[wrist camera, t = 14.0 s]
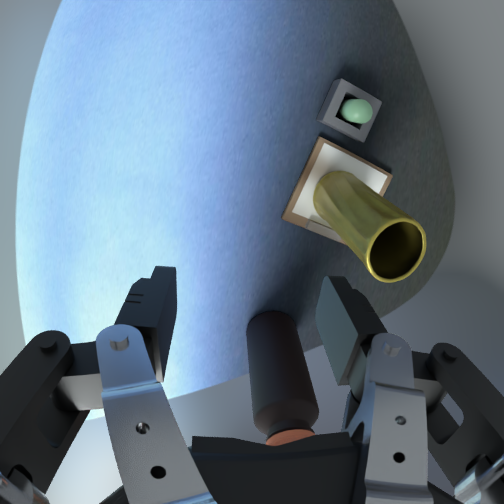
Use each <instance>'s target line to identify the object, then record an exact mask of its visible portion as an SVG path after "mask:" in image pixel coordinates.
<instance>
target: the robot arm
mask: <svg viewBox="0 0 504 504" xmlns="http://www.w3.org/2000/svg"><path fill="white" fill-rule="evenodd" d="M176 314H177V284H176V268H175V267H166V266H155V268H154V271H153V273H152V276H151V278H150V279H149V278H141V279H139V280H138V281H137V282H135V283H134V284H133V285H132V287H131V289H130V291H129V293H128V295H127V297H126V299H125V302H124V304H123V306H122V308H121V310H120V312H119V315H118V317H117V319H116V321H115V324H114V325H112V326H109V327H107V328H105V329H103V330H102V331H101V332H100V333H99V334H98V336H97V338H96V341H93V342H87V343H77V344H71V343H70V340H69V338H68V336H67V335H66V334H64V333H63V332H60V331H55V330H50V331H45V332H42V333H40V334H38V335H36V336H35V337H34V338H33V339H32V340H31V341H30V342H29V343H28V344H27V345H26V346H25V348H24V349H23V350H22V351H21V352H20V353H19V354H18V356H17V357H16V358H15V359H14V360H13V361H12V362H11V364H10V365H9V366H8V367H7V368H6V369H5V371H4V372H3V373H2V374H1V375H0V504H50V503H49V500H48V499H47V497H46V496H45V494H46V491H47V490H48V488H49V486H50V484H51V482H52V480H53V478H54V476H55V474H56V472H57V470H58V468H59V466H60V465H61V463H62V461H63V459H64V457H65V455H66V453H67V451H68V450H69V448H70V446H71V444H72V442H73V440H74V439H75V437H76V435H77V433H78V431H79V430H80V428H81V426H82V424H83V423H84V421H85V419H86V417H87V416H88V414H89V412H90V410H91V409H101V408H104V412H105V417H106V421H107V426H108V430H109V435H110V439H111V443H112V447H113V451H114V455H115V459H116V462H117V466H118V469H119V473H120V476H121V479H122V483H123V485H122V486H121V487H119V488H118V489H117V490H116V491H115V492H113V493H112V494H111V495H110V496H108V497H107V498H106V499H104V500H103V501H102V502H101V503H99V504H504V397H503V396H502V394H500V392H499V391H498V390H497V389H496V388H495V387H494V386H493V385H492V384H491V382H490V381H489V380H488V379H487V378H486V377H485V376H484V375H483V374H482V372H481V371H480V370H479V369H478V368H477V367H476V366H475V365H474V364H473V363H472V362H471V361H470V360H469V359H468V358H467V357H466V355H465V354H463V352H461V350H460V349H458V348H457V347H455V346H453V345H451V344H448V343H437V344H436V345H434V347H433V349H432V350H431V352H430V354H428V353H421V352H415V351H411V347H410V345H409V344H408V342H406V341H405V340H404V339H403V338H401V337H400V336H398V335H395V334H392V333H388V332H387V330H386V329H385V327H384V325H383V324H382V322H381V321H380V319H379V317H378V316H377V314H376V313H375V311H374V309H373V308H372V306H371V304H370V303H369V301H368V300H367V298H366V297H365V296H364V295H363V294H362V293H360V292H359V291H358V290H356V289H352V287H351V286H350V284H349V283H348V281H347V279H346V278H345V277H344V276H325V277H324V279H323V282H322V286H321V291H320V295H319V299H318V303H317V307H316V312H315V321H316V326H317V328H318V331H319V334H320V337H321V339H322V342H323V345H324V348H325V350H326V353H327V356H328V359H329V362H330V364H331V367H332V370H333V373H334V376H335V378H336V382H337V384H338V385H350V387H351V390H350V392H349V394H348V397H347V402H346V408H345V413H344V418H343V424H342V429H341V432H339V433H331V434H320V435H312V436H309V437H306V438H303V439H299V440H296V441H292V442H289V443H285V444H282V445H278V446H271V445H265V444H260V443H255V442H250V441H245V440H240V439H236V438H221V437H200V436H192V446H191V447H187V445H186V443H185V441H184V438H183V436H182V434H181V432H180V429H179V427H178V425H177V422H176V420H175V417H174V415H173V412H172V410H171V408H170V405H169V403H168V400H167V397H166V395H165V392H164V390H163V387H162V385H161V383H160V382H163V381H164V376H165V370H166V365H167V360H168V355H169V350H170V345H171V340H172V335H173V330H174V325H175V321H176ZM447 393H448V394H449V395H450V396H451V398H452V399H453V400H454V401H455V402H456V404H457V405H458V406H459V407H460V409H461V410H462V411H463V415H464V420H463V423H462V425H461V426H460V427H459V425H458V424H457V423H456V421H455V420H454V419H453V417H452V416H451V415H450V414H449V412H448V411H447V410H446V409H445V407H444V406H443V405H442V404H441V401H442V400H443V399H444V397H445V396H446V394H447ZM428 450H429V451H430V453H431V454H432V456H433V457H434V458H435V460H436V462H437V463H438V465H439V466H440V468H441V469H442V471H443V472H444V474H445V475H446V477H447V478H448V480H449V481H450V482H451V484H452V486H453V487H454V489H455V495H454V496H453V497H452V496H451V495H449V494H447V493H446V492H444V491H442V490H441V489H439V488H438V487H436V486H435V485H433V484H431V483H430V482H428V481H427V472H428Z"/></svg>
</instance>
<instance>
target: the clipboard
mask: <svg viewBox="0 0 504 504" xmlns="http://www.w3.org/2000/svg"><path fill="white" fill-rule="evenodd" d="M334 171H346V172H349V173H352V174H353V175H355V176H356V177H357V178H358V179H359V180H361V181H362V182H363V183H365V184H366V185H367V186H369V187H370V188H371V189H373V190H374V191H375V192H377V193H378V194H379V195H381V196H382V197H383V195H384V193H385V191H386V189H387V187H388V185H389V183H390V181H391V179H392V177H393V175H391V174H390V173H388V172H386V171H384V170H383V169H381V168H379V167H377V166H375V165H374V164H372V163H370V162H368V161H366V160H365V159H363V158H361V157H359V156H357V155H355V154H353V153H351V152H349V151H348V150H346V149H344V148H342V147H340V146H338V145H336V144H334V143H332V142H330V141H328V140H326V139H324V138H322V137H319V136H318V138H317V141H316V143H315V145H314V147H313V149H312V151H311V154H310V156H309V158H308V160H307V162H306V165H305V167H304V169H303V171H302V173H301V175H300V178H299V180H298V182H297V184H296V186H295V188H294V191H293V193H292V195H291V197H290V199H289V201H288V203H287V206H286V208H285V210H284V212H283V214H282V216H281V218H282V219H283V220H285V221H288V222H290V223H293V224H296V225H298V226H301V227H303V228H306V229H308V230H310V231H313V232H315V233H318V234H320V235H323V236H325V237H328V238H330V239H333V240H335V241H338V242H340V243H343V244H345V245H347V244H346V243H345V242H344V241H343V240H342V238H341V237H340V236H339V235H338V234H337V233H336V232H335V231H334V230H333V229H332V228H331V226H330V225H329V224H328V223H327V221H325V220H323V219H322V218H321V217H320V216H319V215H318V214H317V212H316V210H315V208H314V204H313V194H314V190H315V187H316V185H317V184H318V183H319V181H320V180H321V179H322V178H323V177H324V176H326V175H327V174H329V173H331V172H334Z"/></svg>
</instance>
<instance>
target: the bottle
mask: <svg viewBox="0 0 504 504" xmlns="http://www.w3.org/2000/svg"><path fill="white" fill-rule="evenodd" d="M246 336H247V348H248V360H249V372H250V384H251V395H252V407H253V418H254V424H255V426H256V427H257V428H258V430H259V431H261V432H262V433H264V434H266V435H267V439H266V445H271V446H278V445H282V444H285V443H289V442H292V441H296V440H299V439H303V438H306V437H309V436H312V435H315V433H314V431H313V430H312V429H311V427H312V426H313V424H314V423H315V422H316V420H317V419H318V415H319V408H318V404H317V400H316V397H315V393H314V389H313V386H312V382H311V379H310V375H309V371H308V367H307V364H306V360H305V357H304V353H303V350H302V346H301V342H300V339H299V335H298V332H297V328H296V325H295V323H294V321H293V319H291V318H290V317H289V316H288V315H287V314H284V313H282V312H276V311H271V312H265V313H262V314H259V315H258V316H256V317H255V318H253V319H252V320H251V322H250V323H249V324H248V327H247V331H246Z"/></svg>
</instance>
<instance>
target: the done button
mask: <svg viewBox="0 0 504 504" xmlns="http://www.w3.org/2000/svg"><path fill="white" fill-rule="evenodd" d="M339 114H340V116H341V117H342V118H343V119H344V120H346V121H349V122H356V123H366V122H368V121H369V120H370V119H371V117H372V114H373V111H372V107H371V105H370V104H369V103H368V102H367V101H366V100H363V99H349V100H344V101H343V102H342V103H341V105H340V107H339Z"/></svg>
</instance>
